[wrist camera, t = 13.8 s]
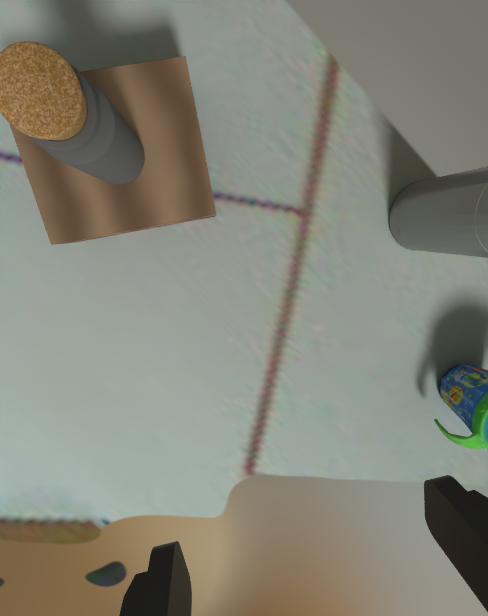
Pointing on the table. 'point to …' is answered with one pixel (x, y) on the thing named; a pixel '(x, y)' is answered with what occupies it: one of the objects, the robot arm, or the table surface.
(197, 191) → the wooden box
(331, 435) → the table surface
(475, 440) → the snack cup
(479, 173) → the robot arm
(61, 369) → the table surface
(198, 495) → the table surface
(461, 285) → the table surface
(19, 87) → the bottle
